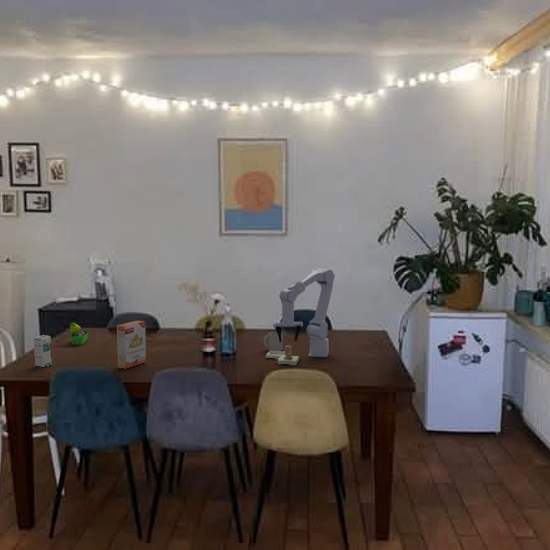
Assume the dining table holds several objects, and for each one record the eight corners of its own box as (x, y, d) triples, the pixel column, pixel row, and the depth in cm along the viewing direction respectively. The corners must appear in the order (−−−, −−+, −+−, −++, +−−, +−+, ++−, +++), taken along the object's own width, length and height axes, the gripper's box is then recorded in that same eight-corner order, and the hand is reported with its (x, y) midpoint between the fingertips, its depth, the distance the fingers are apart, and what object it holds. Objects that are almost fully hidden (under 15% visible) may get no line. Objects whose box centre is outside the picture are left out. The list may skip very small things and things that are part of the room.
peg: (291, 361, 337) (291, 345, 336) (290, 363, 334) (290, 347, 333) (285, 361, 337) (285, 345, 336) (284, 363, 334) (284, 347, 333)
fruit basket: (83, 345, 371) (83, 324, 369) (67, 345, 371) (66, 324, 370) (90, 340, 382) (89, 320, 381) (74, 340, 382) (73, 320, 381)
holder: (298, 360, 339) (298, 356, 339) (295, 365, 330) (295, 361, 330) (280, 359, 341) (280, 355, 340) (277, 364, 332) (277, 360, 332)
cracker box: (126, 370, 323) (125, 326, 320) (117, 368, 327) (115, 325, 324) (147, 363, 335) (145, 321, 332) (137, 361, 338) (136, 319, 335)
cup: (281, 352, 355) (281, 335, 353) (262, 351, 357) (262, 334, 355) (283, 348, 362) (283, 332, 360) (265, 347, 364) (265, 331, 362)
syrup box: (43, 368, 327) (42, 338, 325) (34, 366, 330) (33, 337, 328) (52, 365, 332) (51, 335, 330) (44, 363, 335) (42, 334, 333)
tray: (289, 355, 349) (289, 351, 349) (285, 359, 340) (285, 356, 340) (269, 354, 351) (269, 350, 351) (266, 358, 342) (266, 355, 342)
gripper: (300, 311, 338) (300, 338, 339) (271, 313, 335) (271, 340, 337) (304, 314, 331) (304, 342, 333) (274, 315, 328) (274, 343, 330)
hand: (288, 341), depth 334 cm, fingers open, 7 cm apart
